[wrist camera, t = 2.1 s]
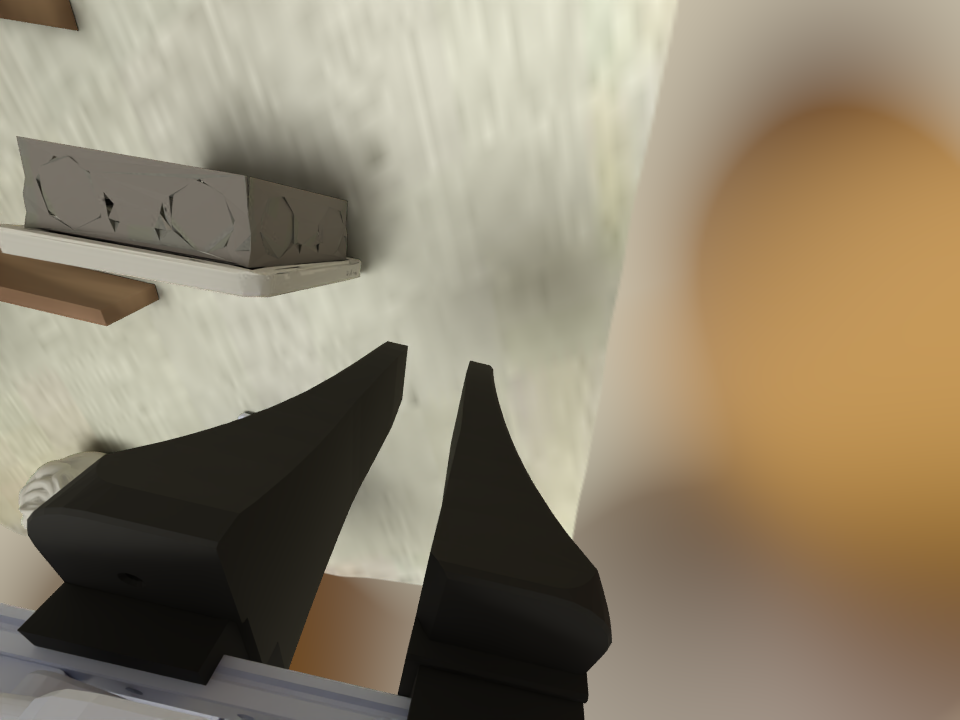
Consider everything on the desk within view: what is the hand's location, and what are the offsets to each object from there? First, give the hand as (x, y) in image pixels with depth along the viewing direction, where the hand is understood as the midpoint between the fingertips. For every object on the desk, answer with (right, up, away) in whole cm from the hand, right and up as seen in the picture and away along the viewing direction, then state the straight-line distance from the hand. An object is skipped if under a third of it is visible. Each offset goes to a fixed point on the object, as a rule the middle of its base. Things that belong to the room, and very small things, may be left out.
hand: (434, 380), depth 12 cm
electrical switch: (-9, +9, +9) cm, 15 cm away
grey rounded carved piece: (-31, -8, +23) cm, 39 cm away
